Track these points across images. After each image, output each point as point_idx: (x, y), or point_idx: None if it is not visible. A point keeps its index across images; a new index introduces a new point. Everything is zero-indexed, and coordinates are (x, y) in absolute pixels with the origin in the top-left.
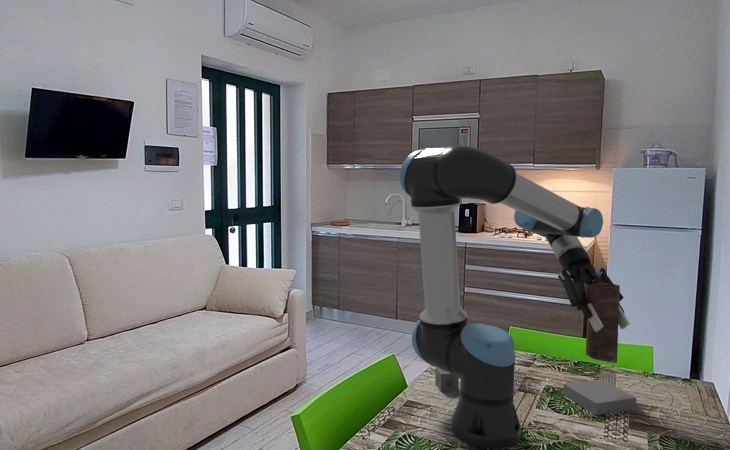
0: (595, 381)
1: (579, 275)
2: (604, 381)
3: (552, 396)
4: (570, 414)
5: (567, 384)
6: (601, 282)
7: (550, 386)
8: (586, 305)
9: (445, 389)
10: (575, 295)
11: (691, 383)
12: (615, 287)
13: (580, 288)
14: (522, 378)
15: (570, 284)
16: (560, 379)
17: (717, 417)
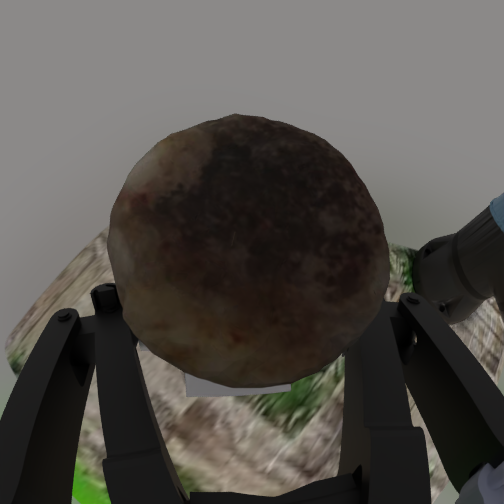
0: (207, 389)
1: (427, 489)
2: (187, 384)
3: (311, 386)
4: None
5: (284, 387)
6: (187, 342)
7: (287, 430)
8: None
9: None
10: (432, 316)
11: (19, 354)
12: (236, 120)
13: (401, 371)
14: (322, 470)
15: (482, 372)
16: (242, 458)
17: (89, 248)
